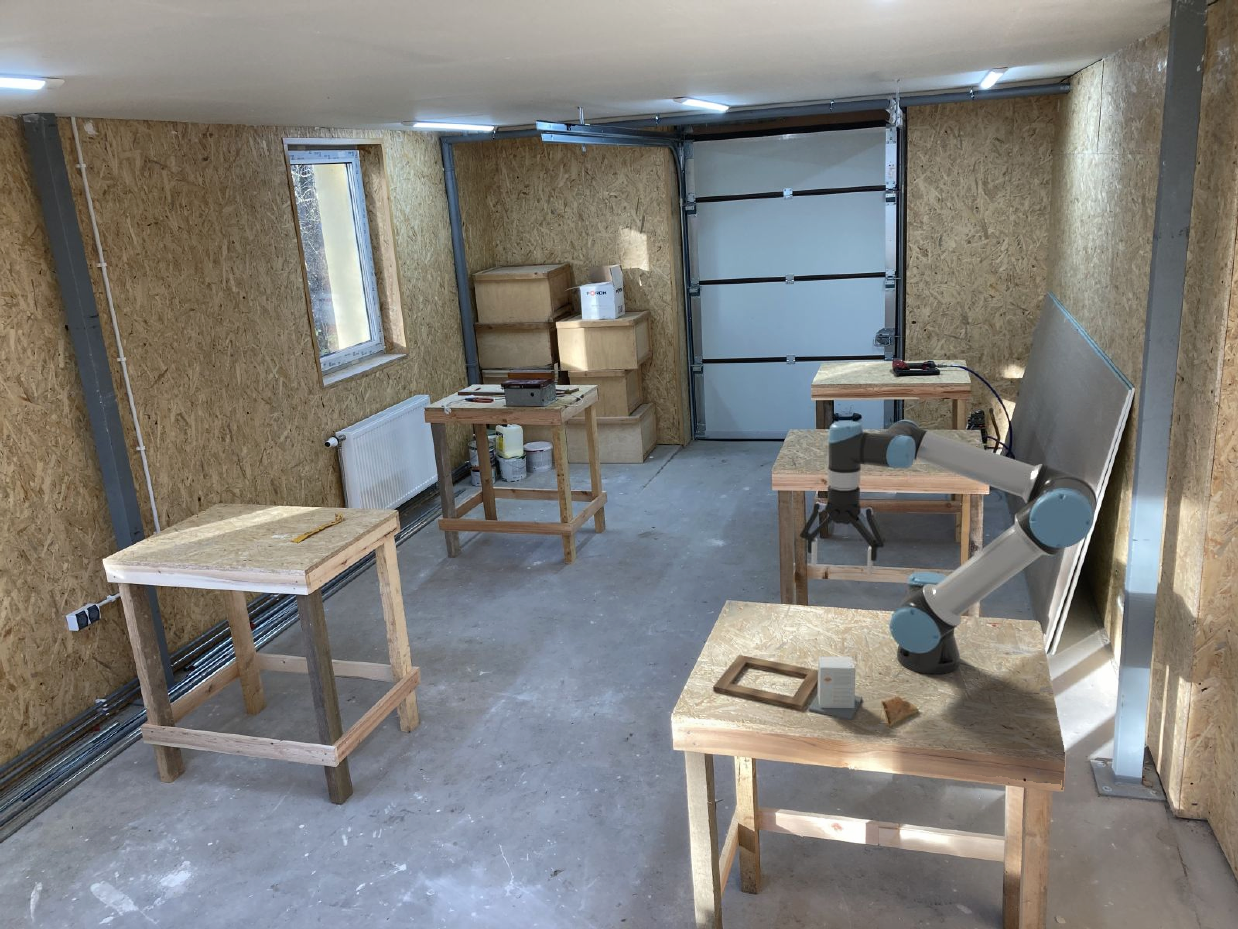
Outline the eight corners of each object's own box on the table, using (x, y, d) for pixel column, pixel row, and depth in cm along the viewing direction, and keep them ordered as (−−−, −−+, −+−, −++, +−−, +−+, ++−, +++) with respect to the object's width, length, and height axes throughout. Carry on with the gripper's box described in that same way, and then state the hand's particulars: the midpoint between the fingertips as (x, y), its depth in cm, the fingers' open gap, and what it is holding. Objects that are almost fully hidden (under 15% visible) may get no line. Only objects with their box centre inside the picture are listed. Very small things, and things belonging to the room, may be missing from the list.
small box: (851, 697, 223) (853, 656, 220) (854, 709, 218) (856, 668, 215) (816, 696, 224) (818, 655, 221) (819, 708, 219) (820, 667, 216)
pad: (862, 699, 223) (862, 697, 223) (851, 720, 214) (851, 717, 214) (820, 690, 227) (820, 688, 227) (808, 710, 219) (808, 708, 219)
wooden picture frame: (822, 675, 235) (822, 671, 234) (801, 710, 219) (801, 705, 219) (739, 659, 244) (739, 654, 244) (713, 690, 229) (713, 686, 229)
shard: (889, 730, 211) (889, 723, 210) (862, 716, 217) (862, 709, 216) (919, 714, 217) (920, 707, 216) (892, 700, 223) (893, 694, 222)
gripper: (900, 486, 224) (896, 570, 229) (796, 477, 234) (795, 557, 240) (894, 495, 217) (890, 581, 223) (788, 485, 228) (787, 567, 233)
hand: (841, 569), depth 231 cm, fingers open, 13 cm apart
